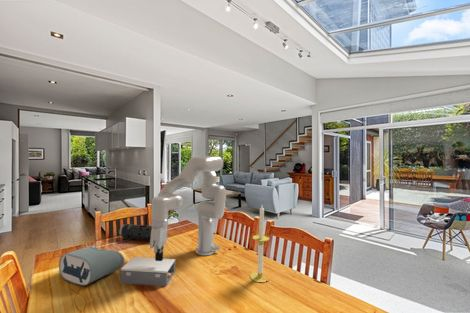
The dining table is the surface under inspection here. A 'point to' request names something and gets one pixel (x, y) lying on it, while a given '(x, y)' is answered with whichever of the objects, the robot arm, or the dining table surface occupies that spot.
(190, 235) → the dining table surface
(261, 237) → the candle
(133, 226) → the muzzle brake
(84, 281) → the pencil case
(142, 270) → the plate
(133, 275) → the cable duct
